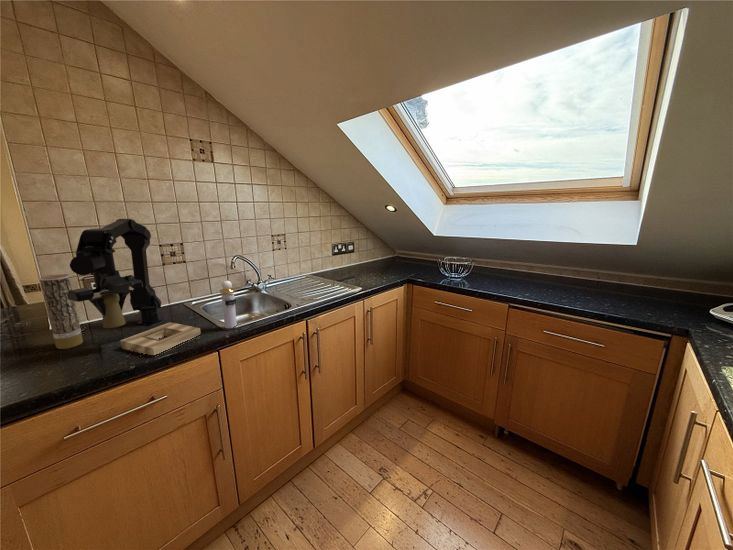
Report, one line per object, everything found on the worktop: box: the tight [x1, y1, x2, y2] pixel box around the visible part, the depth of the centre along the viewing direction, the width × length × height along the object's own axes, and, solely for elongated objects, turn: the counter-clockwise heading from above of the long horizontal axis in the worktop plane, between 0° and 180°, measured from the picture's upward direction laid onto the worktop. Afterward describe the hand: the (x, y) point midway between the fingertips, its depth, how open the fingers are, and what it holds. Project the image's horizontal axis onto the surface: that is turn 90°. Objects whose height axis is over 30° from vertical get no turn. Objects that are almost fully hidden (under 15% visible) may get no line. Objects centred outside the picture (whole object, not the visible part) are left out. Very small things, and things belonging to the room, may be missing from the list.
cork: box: [100, 292, 127, 329], centre depth 100 cm, size 6×6×11 cm
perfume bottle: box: [219, 280, 238, 329], centre depth 119 cm, size 6×6×20 cm
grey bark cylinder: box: [39, 273, 84, 350], centre depth 101 cm, size 7×7×25 cm
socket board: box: [120, 322, 202, 356], centre depth 108 cm, size 16×18×3 cm
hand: (112, 313), depth 100 cm, fingers closed on cork, 4 cm apart
